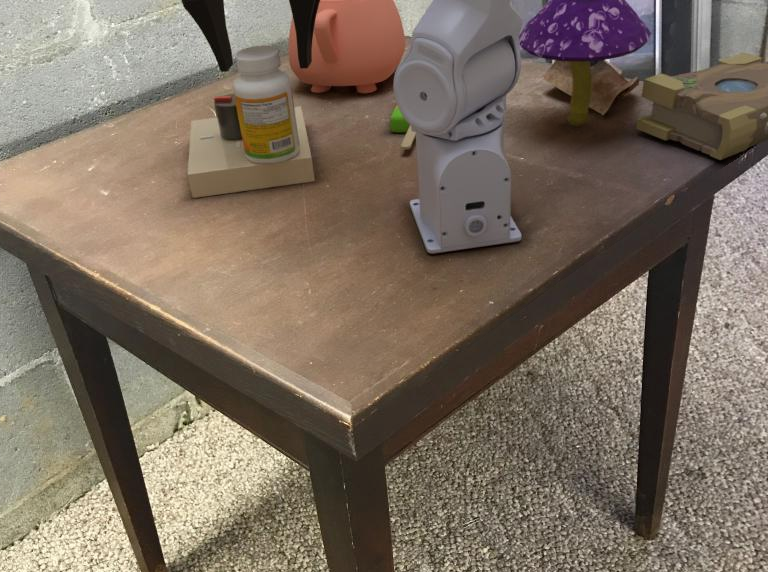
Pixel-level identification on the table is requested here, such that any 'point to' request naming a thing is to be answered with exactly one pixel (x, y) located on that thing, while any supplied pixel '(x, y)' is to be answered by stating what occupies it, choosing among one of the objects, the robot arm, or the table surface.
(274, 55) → the supplement bottle
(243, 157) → the beige flat block
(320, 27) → the pink rounded body
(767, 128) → the book
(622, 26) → the decorative mushroom
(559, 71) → the crumpled paper bag
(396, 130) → the popsicle
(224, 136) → the knob
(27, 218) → the table surface
